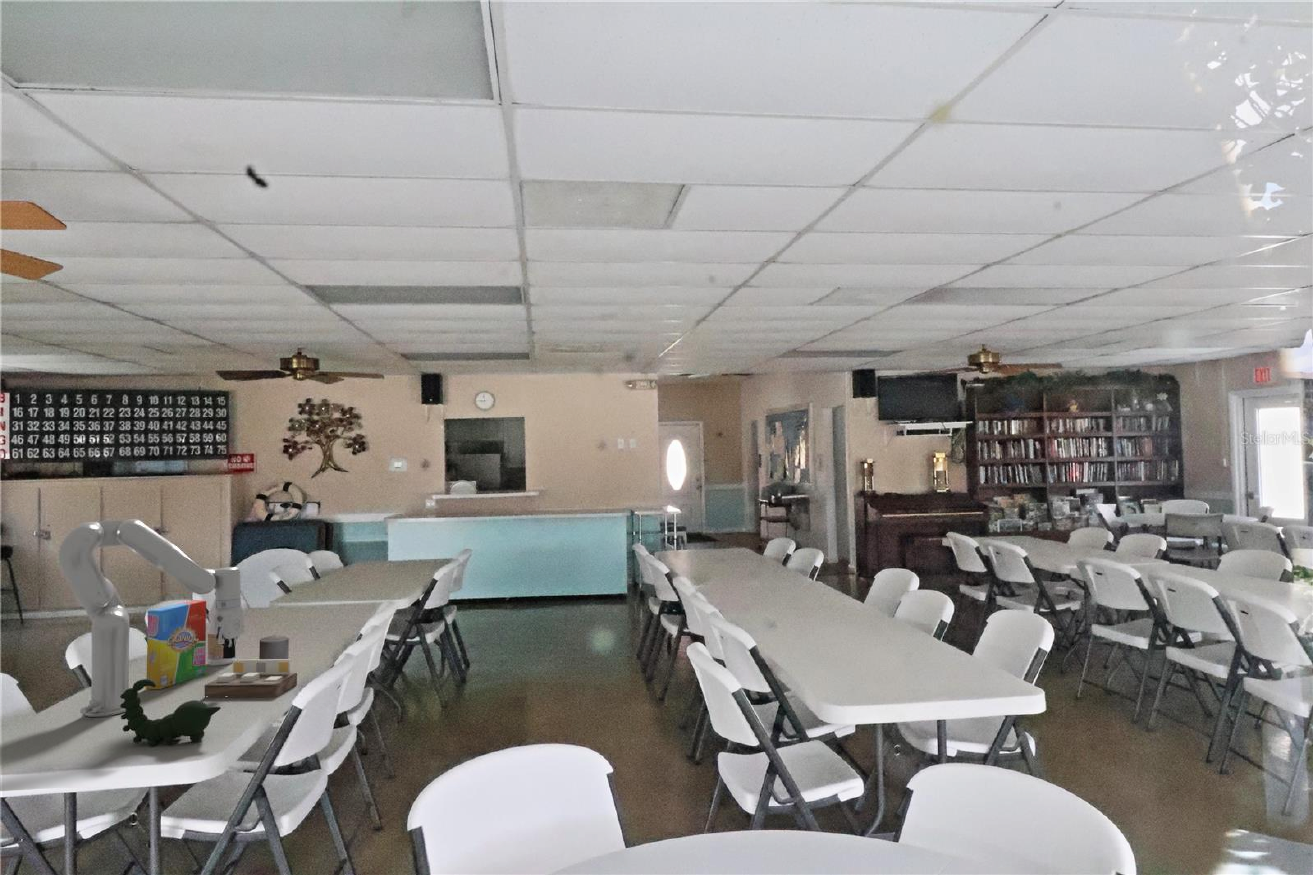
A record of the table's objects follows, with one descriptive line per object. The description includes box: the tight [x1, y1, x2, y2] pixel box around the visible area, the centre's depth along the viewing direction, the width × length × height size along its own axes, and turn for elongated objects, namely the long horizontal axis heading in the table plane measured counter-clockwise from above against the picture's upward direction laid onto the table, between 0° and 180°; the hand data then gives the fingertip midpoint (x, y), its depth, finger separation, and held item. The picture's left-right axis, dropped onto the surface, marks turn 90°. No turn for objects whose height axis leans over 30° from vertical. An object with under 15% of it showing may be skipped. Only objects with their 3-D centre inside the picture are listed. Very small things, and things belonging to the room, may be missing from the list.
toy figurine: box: [120, 678, 221, 747], centre depth 209 cm, size 9×19×25 cm
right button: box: [265, 676, 283, 682], centre depth 255 cm, size 4×4×2 cm
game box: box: [145, 599, 207, 690], centre depth 269 cm, size 21×6×27 cm, turn 168°
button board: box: [204, 672, 298, 698], centre depth 256 cm, size 14×24×4 cm, turn 89°
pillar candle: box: [258, 635, 290, 659], centre depth 274 cm, size 10×10×15 cm
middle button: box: [241, 673, 259, 682], centre depth 255 cm, size 4×4×2 cm
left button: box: [217, 672, 236, 682], centre depth 255 cm, size 4×4×2 cm
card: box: [232, 658, 291, 675], centre depth 262 cm, size 1×20×5 cm, turn 89°
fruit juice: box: [207, 598, 236, 666], centre depth 294 cm, size 9×9×28 cm
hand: (229, 657), depth 256 cm, fingers closed
